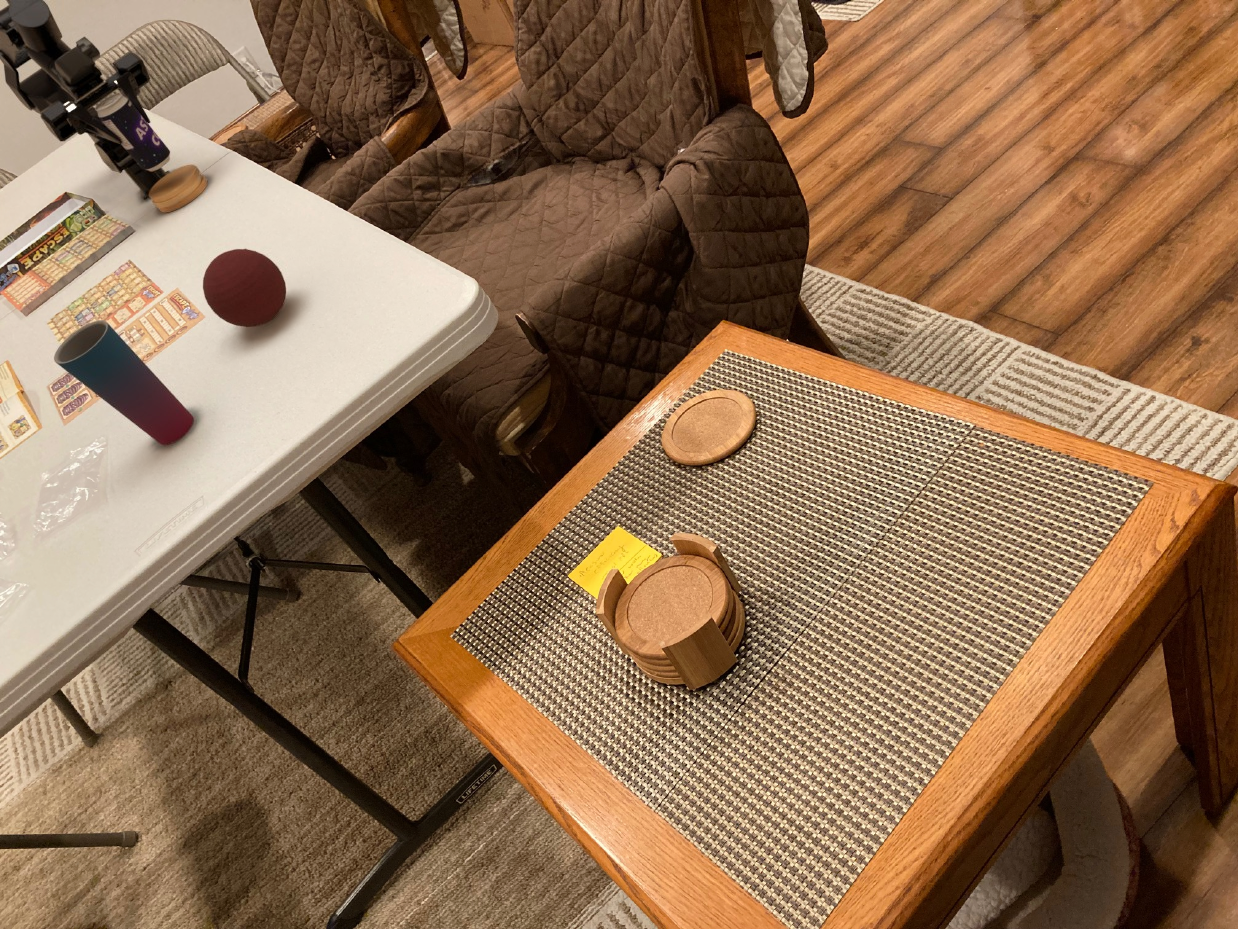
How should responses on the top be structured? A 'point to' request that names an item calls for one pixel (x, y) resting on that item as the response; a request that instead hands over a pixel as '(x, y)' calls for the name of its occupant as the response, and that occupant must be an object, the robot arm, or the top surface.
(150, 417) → the cup
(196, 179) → the coaster pile
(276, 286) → the decorative ball
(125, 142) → the beverage can
